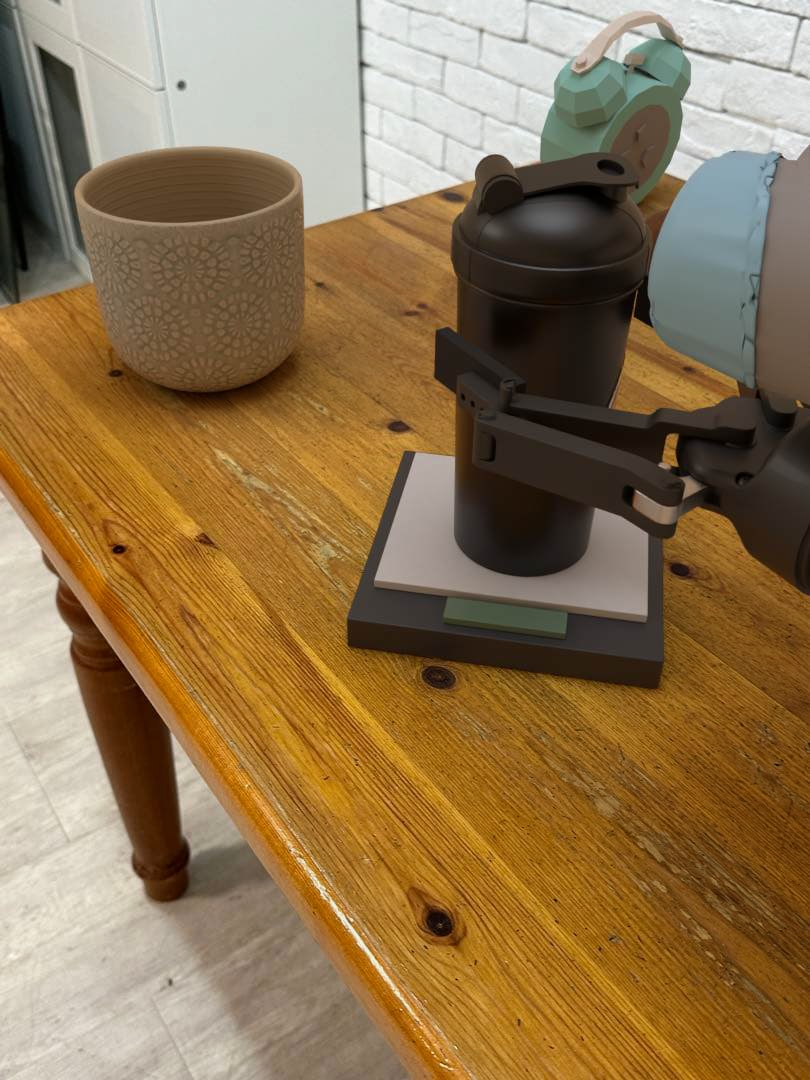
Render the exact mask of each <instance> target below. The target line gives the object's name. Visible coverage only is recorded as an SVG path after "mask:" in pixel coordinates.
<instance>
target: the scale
mask: <svg viewBox="0 0 810 1080" xmlns="http://www.w3.org/2000/svg"><path fill="white" fill-rule="evenodd" d="M454 482H455V455H449V454H441V453H432V452H423V451H413V450H404V451H403V453H402V456H401V459H400V462H399V465H398V468H397V470H396V474H395V477H394V480H393V482H392V486H391V489H390V491H389V494H388V497H387V500H386V502H385V506H384V509H383V511H382V515H381V518H380V520H379V523H378V525H377V526H378V527H377V529H376V532H375V535H374V538H373V541H372V544H371V547H370V549H369V553H368V555H367V559H366V562H365V565H364V568H363V570H362V572H361V573H362V574H361V576H360V579H359V582H358V585H357V588H356V591H355V593H354V597H353V599H352V602H351V605H350V608H349V611H348V613H347V617H346V633H347V634H346V635H347V646H348V647H355V648H363V649H370V650H377V651H383V652H390V653H391V652H392V653H398V654H404V655H412V656H420V657H427V658H435V659H440V660H449V661H455V662H460V663H461V662H462V663H470V664H476V665H484V666H490V667H491V666H492V667H498V668H505V669H511V670H519V671H526V672H534V673H541V674H547V675H555V676H562V677H568V678H569V677H570V678H576V679H583V680H592V681H597V682H603V683H611V684H620V685H627V686H633V687H641V688H649V689H654V690H655V689H657V690H658V688H659V685H660V681H661V676H662V672H663V668H664V664H665V663H664V662H665V645H664V643H665V641H664V640H665V638H664V637H665V634H664V628H665V627H664V539H659V538H655V537H653V536H651V535H649V534H648V533H646V532H645V531H643V530H642V529H640V528H638V527H637V526H635V525H634V524H632V523H631V522H629V521H627V520H626V519H624V518H623V517H621V516H618V515H615V514H612V513H609V512H606V511H603V510H600V509H598V508H595V512H594V518H593V523H592V528H591V533H590V539H589V544H588V548H587V550H586V552H585V554H584V555H583V557H582V558H581V559H580V560H579V561H578V562H576V563H575V564H574V565H572V566H571V567H569V568H567V569H565V570H563V571H560V572H557V573H554V574H550V575H545V576H536V577H520V576H511V575H506V574H501V573H498V572H494V571H492V570H489V569H487V568H484V567H482V566H480V565H478V564H477V563H475V562H474V561H472V560H471V559H470V558H468V557H467V556H466V555H465V554H464V553H463V552H462V551H461V549H460V548H459V546H458V545H457V543H456V540H455V537H454Z"/></svg>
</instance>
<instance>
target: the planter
mask: <svg viewBox="0 0 810 1080" xmlns="http://www.w3.org/2000/svg"><path fill="white" fill-rule="evenodd" d="M73 192H74V200H75V205H76V211H77V216H78V221H79V226H80V231H81V234H82V239H83V243H84V248H85V252H86V253H85V254H86V256H87V261H88V266H89V269H90V273H91V277H92V281H93V282H92V283H93V287H94V291H95V295H96V300H97V305H98V309H99V314H100V317H101V320H102V324H103V327H104V331H105V334H106V336H107V339H108V341H109V343H110V346H111V347H112V349H113V350H114V352H115V353H116V355H117V356H118V358H119V359H120V360H121V361H122V362H123V363H124V364H125V365H126V366H127V367H128V368H130V369H131V370H132V371H133V372H135V373H136V374H138V375H139V376H141V377H142V378H144V379H146V380H148V381H150V382H152V383H155V384H156V385H159V386H162V387H163V388H168V389H171V390H174V391H175V390H176V391H181V392H187V393H217V392H225V391H229V390H234V389H238V388H241V387H245V386H247V385H250V384H252V383H255V382H256V381H259V380H261V379H263V378H264V377H265V376H268V375H269V374H270V373H271V372H273V371H275V369H277V368H278V367H279V366H280V365H281V364H282V363H283V362H285V360H286V359H287V358H288V357H289V355H290V354H291V353H292V352H293V351H294V349H295V347H296V345H297V344H298V342H299V339H300V337H301V335H302V330H303V327H304V321H305V309H306V277H305V275H306V273H305V272H306V271H305V268H306V267H305V206H304V205H305V204H304V201H305V200H304V184H303V177H302V175H301V173H300V172H299V170H298V169H297V168H296V167H295V166H294V165H292V164H290V163H289V162H287V161H286V160H285V159H281V158H280V157H278V156H274V155H271V154H268V153H266V152H265V153H264V152H261V151H256V150H252V149H246V148H239V147H230V146H229V147H228V146H214V145H213V146H212V145H208V146H207V145H203V146H202V145H197V146H195V145H194V146H178V147H176V146H175V147H166V148H158V149H151V150H146V151H141V152H136V153H131V154H127V155H125V156H121V157H118V158H115V159H112V160H109V161H106V162H105V163H101V164H100V165H97V166H96V167H94V168H93V169H91V170H89V171H87V172H86V173H85V174H84V175H83V176H82V177H81V178H80V179H79V180H78V181H77V183H76V185H75V187H74V191H73Z"/></svg>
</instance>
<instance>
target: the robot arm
mask: <svg viewBox="0 0 810 1080" xmlns="http://www.w3.org/2000/svg"><path fill="white" fill-rule="evenodd" d="M669 208H670V210H669V212H668V214H667V216H666V218H665V220H664V223H663V225H662V227H661V230H660V233H659V236H658V239H657V242H656V245H655V248H654V252H653V256H652V260H651V265H650V270H648V272H647V275H646V277H645V278H644V281H643V283H642V285H641V286H640V288H639V289H638V290H637V293H636V298H635V303H634V308H633V314H632V318H634V319H636V320H638V321H639V322H641V323H643V324H645V325H647V326H648V327H650V328H652V329H654V331H655V333H656V335H657V337H658V338H659V340H660V341H661V342H662V343H663V344H664V345H666V346H667V348H668V349H671V350H672V351H675V352H676V353H678V354H680V355H683V356H685V357H687V358H689V359H691V360H693V361H694V362H697V363H699V364H701V365H703V366H705V367H707V368H709V369H712V370H714V371H716V372H718V373H721V374H723V375H725V376H727V377H729V378H731V379H733V380H734V381H735V380H736V384H737V389H738V394H739V395H737V394H735V395H731V396H729V397H726V398H723V399H722V400H720V401H719V402H718V403H716V404H714V405H712V406H705V407H699V408H697V409H694V410H691V411H689V410H684V409H683V410H682V409H677V408H671V407H659V408H657V409H656V410H655V411H654V412H652V413H650V414H645V413H640V412H634V411H628V410H622V409H616V408H615V409H611V408H605V407H599V406H593V405H587V404H581V403H575V402H569V401H563V400H557V399H551V398H545V397H539V396H533V395H527V394H526V384H527V382H526V381H524V380H523V379H521V378H520V377H519V376H517V375H516V374H514V373H513V372H512V371H510V370H509V369H507V368H506V367H504V366H503V365H502V364H500V363H499V362H497V361H496V360H495V359H493V358H492V357H490V356H489V355H487V354H486V353H485V352H483V351H482V350H480V349H479V348H478V347H476V346H475V345H473V344H472V343H470V342H469V341H468V340H466V339H465V338H463V337H462V336H461V335H459V334H458V333H457V331H455V330H454V329H452V327H449V326H444V327H442V328H438V329H435V334H434V336H435V337H434V365H433V366H434V368H433V369H434V370H433V378H434V379H435V380H436V381H437V382H439V384H441V385H442V386H443V387H445V388H446V389H448V390H449V391H450V392H451V393H452V394H454V395H455V403H456V402H457V404H458V407H460V408H461V409H462V410H463V411H466V413H467V414H468V415H471V417H472V418H474V419H475V425H474V440H473V457H472V462H473V464H474V465H475V466H476V467H478V468H481V469H484V470H487V471H490V472H492V473H495V474H498V475H501V476H504V477H507V478H510V479H513V480H516V481H519V482H522V483H525V484H528V485H530V486H533V487H536V488H539V489H542V490H545V491H548V492H551V493H554V494H557V495H560V496H563V497H565V498H568V499H571V500H574V501H577V502H580V503H583V504H586V505H589V506H592V507H595V508H598V509H600V510H603V511H606V512H609V513H612V514H615V515H618V516H621V517H623V518H624V519H626V520H627V521H629V522H631V523H632V524H634V525H635V526H637V527H638V528H640V529H642V530H643V531H645V532H646V533H648V534H649V535H651V536H653V537H655V538H659V539H663V540H668V539H671V538H673V537H674V536H675V535H676V531H677V527H678V521H679V519H680V518H681V517H682V516H684V515H686V514H687V513H689V512H691V511H692V510H695V509H696V508H700V509H702V510H706V511H709V512H712V513H715V514H718V515H720V516H722V517H724V518H726V519H728V520H729V521H730V523H731V524H732V526H733V528H734V529H735V531H736V533H737V535H738V537H739V539H740V541H741V543H742V546H743V547H744V549H745V551H746V552H747V553H748V555H750V556H751V558H753V559H754V560H756V561H757V562H758V563H760V564H761V565H762V566H764V567H765V568H767V569H769V570H770V571H771V572H772V573H774V574H775V575H777V576H778V577H780V578H781V579H782V580H784V582H787V583H788V584H789V585H791V586H792V587H794V588H795V589H796V590H798V591H799V592H800V593H802V594H803V595H806V596H808V597H810V144H808V145H807V147H805V149H804V150H803V151H802V152H801V153H800V155H799V156H798V157H797V158H796V159H787V158H786V157H785V156H783V153H782V152H779V151H776V150H772V151H769V152H768V153H763V152H757V151H756V152H755V151H749V150H748V151H747V150H736V149H735V150H730V151H727V152H724V153H722V154H721V155H720V156H717V157H715V156H714V157H711V158H709V159H706V161H704V162H703V163H702V164H700V166H699V167H698V168H697V169H696V170H695V171H694V172H692V174H691V175H690V176H689V177H688V179H687V180H686V182H684V184H683V185H682V187H681V188H680V190H679V191H678V193H677V194H676V196H675V198H674V200H673V202H672V204H671V206H670V207H669ZM798 402H799V404H800V405H801V406H800V405H798ZM524 417H525V418H526V419H527V420H528V421H527V420H524ZM673 434H676V435H677V439H676V446H675V450H674V452H675V453H674V454H675V459H676V463H677V465H671V464H670V463H668V462H665V461H664V458H663V457H664V452H665V449H666V448H665V447H666V441H667V437H668V436H669V435H673Z"/></svg>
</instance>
